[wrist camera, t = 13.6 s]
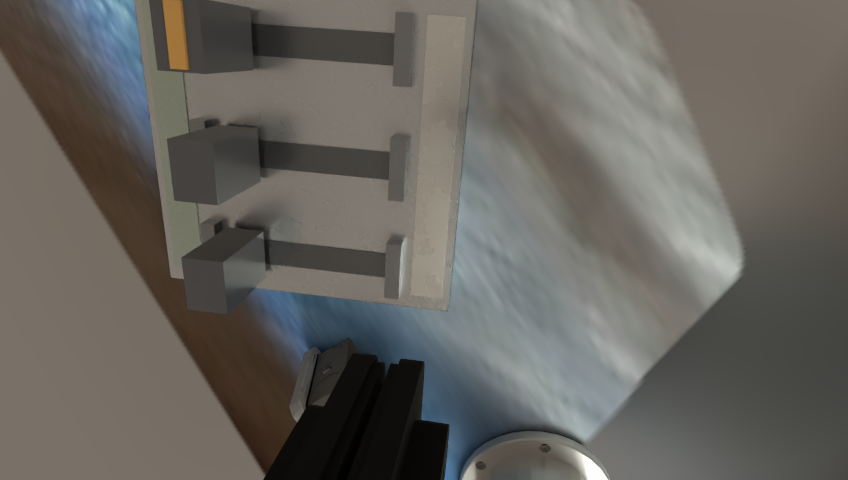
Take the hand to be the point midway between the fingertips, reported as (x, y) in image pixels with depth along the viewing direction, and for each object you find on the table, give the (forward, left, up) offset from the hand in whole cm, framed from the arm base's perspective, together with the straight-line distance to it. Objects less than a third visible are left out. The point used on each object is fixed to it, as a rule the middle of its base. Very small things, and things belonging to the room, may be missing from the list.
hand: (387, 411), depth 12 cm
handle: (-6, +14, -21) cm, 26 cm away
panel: (+1, +10, -24) cm, 26 cm away
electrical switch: (-17, +6, -24) cm, 30 cm away
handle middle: (+1, +14, -21) cm, 26 cm away
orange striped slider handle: (+8, +14, -21) cm, 27 cm away
